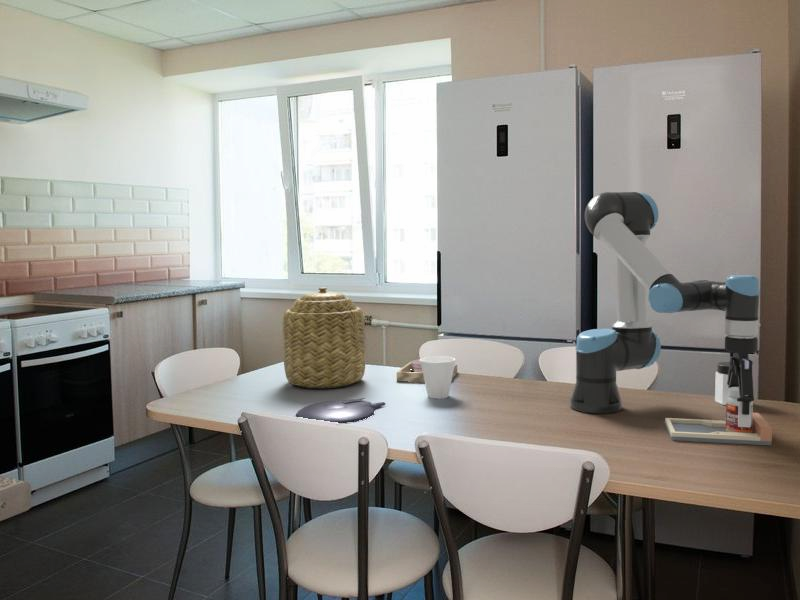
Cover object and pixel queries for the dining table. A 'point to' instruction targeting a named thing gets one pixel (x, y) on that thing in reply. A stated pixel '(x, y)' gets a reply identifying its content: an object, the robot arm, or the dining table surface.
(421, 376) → the birch tray rim
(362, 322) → the basket
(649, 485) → the dining table surface
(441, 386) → the cup
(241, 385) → the dining table surface
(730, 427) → the pill bottle
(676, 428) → the keyhole board
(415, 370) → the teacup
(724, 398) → the jar
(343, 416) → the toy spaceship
